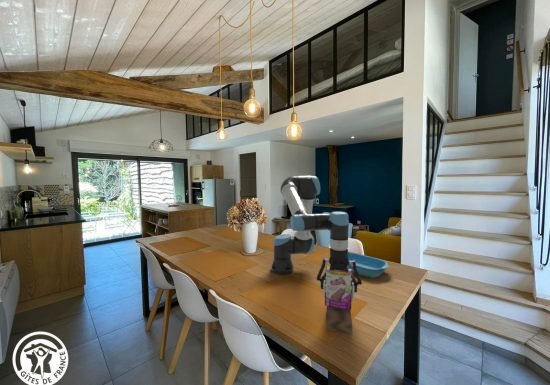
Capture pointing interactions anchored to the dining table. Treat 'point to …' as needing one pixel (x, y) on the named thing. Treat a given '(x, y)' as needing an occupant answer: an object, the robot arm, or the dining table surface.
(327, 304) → the candy bar box
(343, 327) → the walnut block
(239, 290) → the dining table surface
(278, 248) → the robot arm
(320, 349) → the dining table surface
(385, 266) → the casserole dish
